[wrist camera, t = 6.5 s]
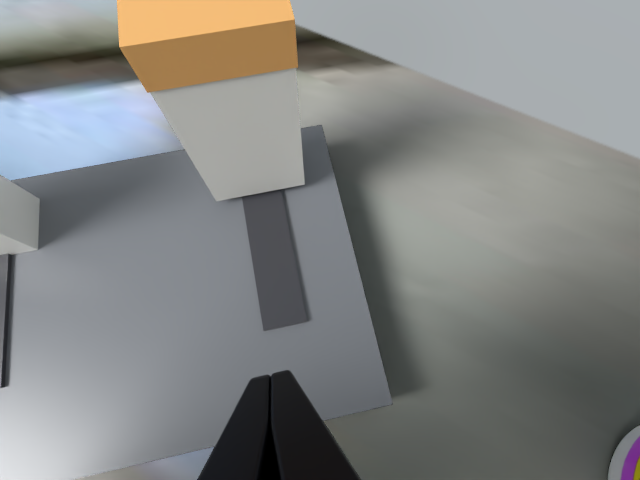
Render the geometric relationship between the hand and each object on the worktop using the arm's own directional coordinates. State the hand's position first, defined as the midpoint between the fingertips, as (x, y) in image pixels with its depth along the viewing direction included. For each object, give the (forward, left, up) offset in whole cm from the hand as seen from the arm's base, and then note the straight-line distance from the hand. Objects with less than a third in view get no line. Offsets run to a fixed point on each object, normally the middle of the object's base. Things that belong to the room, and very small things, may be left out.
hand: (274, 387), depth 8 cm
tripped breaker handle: (+2, +9, -7) cm, 11 cm away
